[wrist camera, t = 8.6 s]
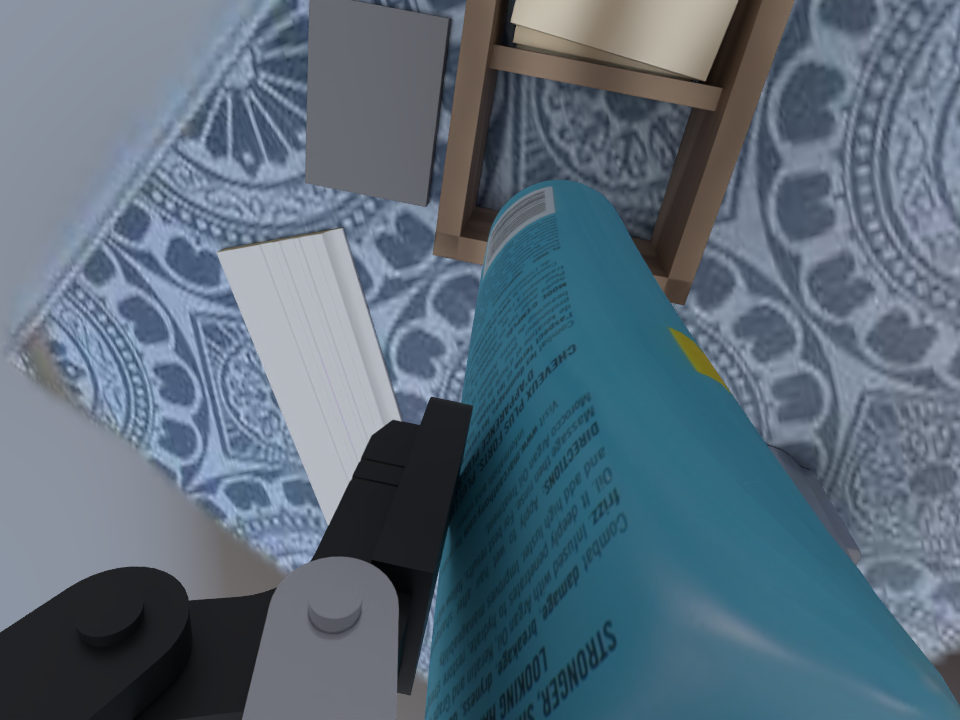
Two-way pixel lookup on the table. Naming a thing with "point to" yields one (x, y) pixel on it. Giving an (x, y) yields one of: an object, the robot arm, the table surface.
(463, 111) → the open wooden box
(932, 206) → the table surface
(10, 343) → the table surface
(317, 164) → the mat
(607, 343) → the tube
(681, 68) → the offcut top
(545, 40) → the offcut middle
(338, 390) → the baseboard molding
